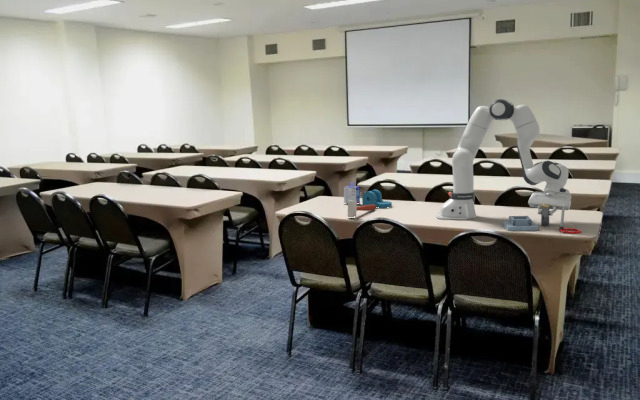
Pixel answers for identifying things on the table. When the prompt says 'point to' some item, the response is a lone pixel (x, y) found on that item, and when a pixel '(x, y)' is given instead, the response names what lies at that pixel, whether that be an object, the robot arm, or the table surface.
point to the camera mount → (375, 199)
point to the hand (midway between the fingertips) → (544, 214)
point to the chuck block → (520, 224)
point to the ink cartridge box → (351, 193)
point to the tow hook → (564, 230)
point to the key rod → (545, 214)
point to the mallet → (358, 208)
